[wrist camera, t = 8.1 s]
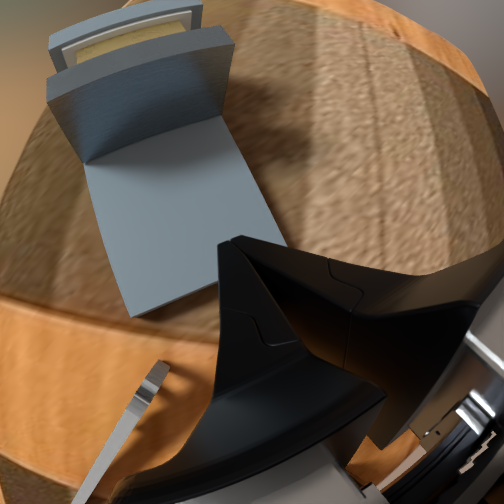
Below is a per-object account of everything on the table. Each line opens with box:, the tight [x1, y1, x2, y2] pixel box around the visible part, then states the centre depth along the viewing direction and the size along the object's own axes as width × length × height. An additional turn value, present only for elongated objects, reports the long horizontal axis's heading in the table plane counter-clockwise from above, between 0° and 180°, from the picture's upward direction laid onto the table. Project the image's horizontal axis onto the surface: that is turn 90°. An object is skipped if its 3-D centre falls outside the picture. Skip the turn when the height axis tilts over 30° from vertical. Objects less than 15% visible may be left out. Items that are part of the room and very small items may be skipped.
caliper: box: [71, 360, 170, 504], centre depth 14 cm, size 20×1×6 cm, turn 148°
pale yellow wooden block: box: [76, 20, 186, 64], centre depth 18 cm, size 3×8×7 cm, turn 115°
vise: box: [48, 0, 287, 317], centre depth 18 cm, size 22×12×10 cm, turn 25°
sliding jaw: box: [47, 26, 235, 164], centre depth 17 cm, size 3×12×8 cm, turn 115°
